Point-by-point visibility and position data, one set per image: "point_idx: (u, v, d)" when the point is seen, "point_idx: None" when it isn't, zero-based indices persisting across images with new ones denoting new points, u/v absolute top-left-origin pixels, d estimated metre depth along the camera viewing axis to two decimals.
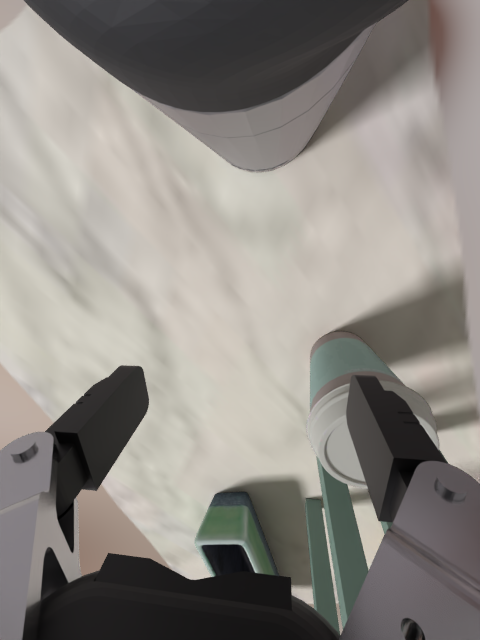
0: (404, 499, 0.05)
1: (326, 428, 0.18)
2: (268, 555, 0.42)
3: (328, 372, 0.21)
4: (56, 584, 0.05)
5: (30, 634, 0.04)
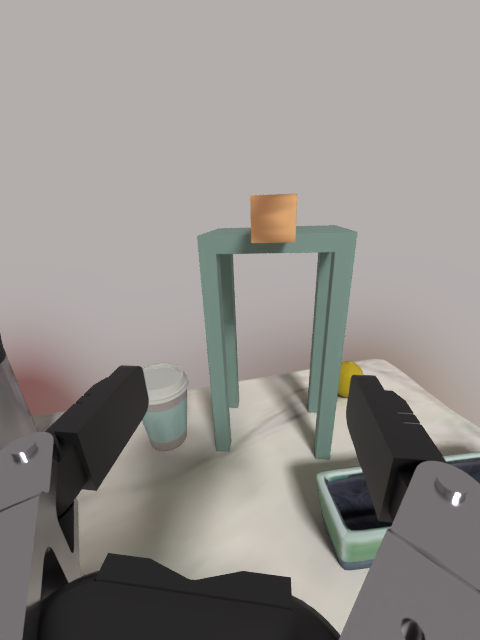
0: (404, 499, 0.05)
1: None
2: None
3: None
4: (56, 584, 0.05)
5: (30, 634, 0.04)
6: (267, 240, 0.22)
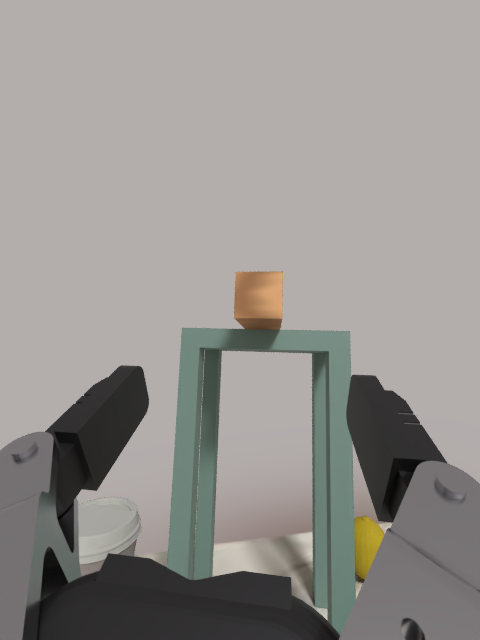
0: (404, 499, 0.05)
1: None
2: None
3: None
4: (56, 584, 0.05)
5: (30, 634, 0.04)
6: (251, 315, 0.20)
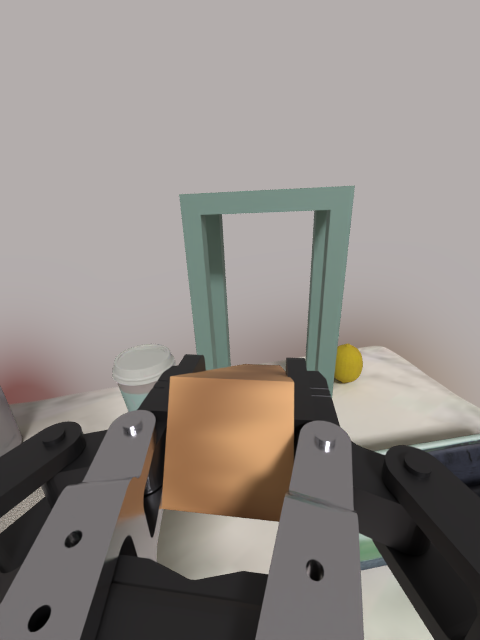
0: (295, 461, 0.06)
1: (119, 368, 0.35)
2: None
3: None
4: None
5: (89, 635, 0.03)
6: (209, 506, 0.07)
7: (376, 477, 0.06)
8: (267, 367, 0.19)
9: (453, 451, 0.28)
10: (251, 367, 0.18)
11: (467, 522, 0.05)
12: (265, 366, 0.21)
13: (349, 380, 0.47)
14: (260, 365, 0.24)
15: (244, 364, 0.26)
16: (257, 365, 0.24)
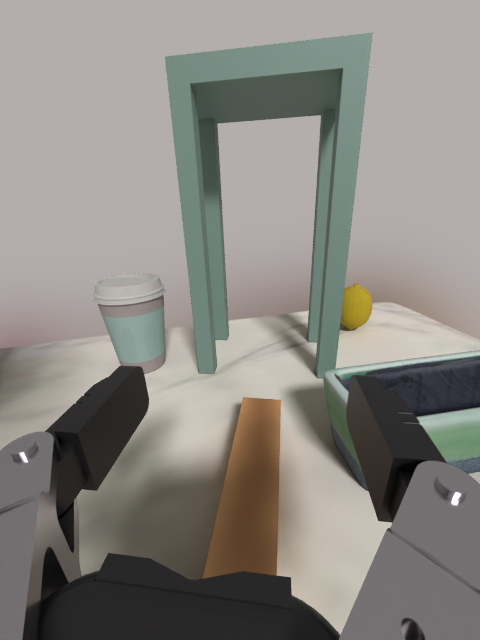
0: (404, 499, 0.05)
1: (99, 287, 0.31)
2: None
3: None
4: (56, 584, 0.05)
5: (30, 634, 0.04)
6: None
7: None
8: (262, 479, 0.18)
9: None
10: (244, 497, 0.17)
11: None
12: (262, 450, 0.20)
13: (357, 323, 0.43)
14: (258, 423, 0.22)
15: (242, 409, 0.24)
16: (255, 426, 0.22)
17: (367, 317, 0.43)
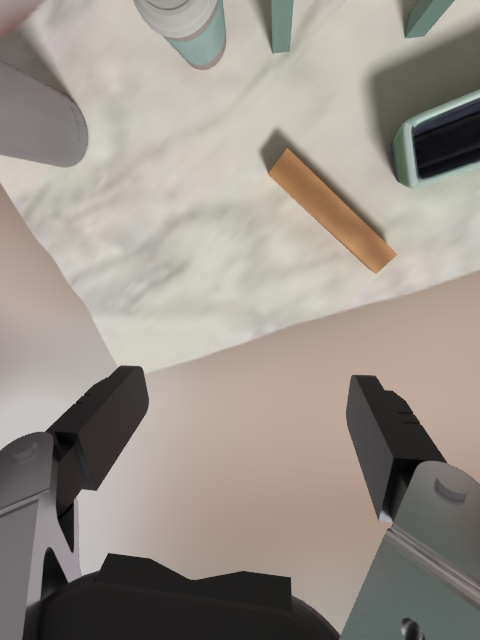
0: (404, 499, 0.05)
1: (153, 13, 0.24)
2: None
3: (161, 34, 0.28)
4: (56, 584, 0.05)
5: (30, 634, 0.04)
6: None
7: None
8: (328, 200, 0.35)
9: None
10: (330, 213, 0.36)
11: None
12: (314, 189, 0.35)
13: None
14: (296, 178, 0.35)
15: (278, 181, 0.35)
16: (297, 182, 0.35)
17: None
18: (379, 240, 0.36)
